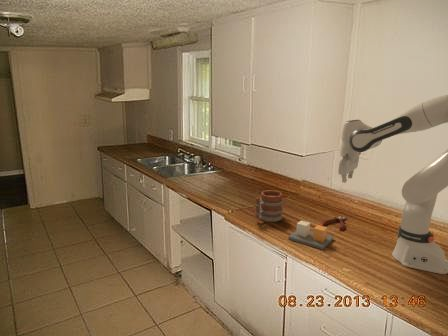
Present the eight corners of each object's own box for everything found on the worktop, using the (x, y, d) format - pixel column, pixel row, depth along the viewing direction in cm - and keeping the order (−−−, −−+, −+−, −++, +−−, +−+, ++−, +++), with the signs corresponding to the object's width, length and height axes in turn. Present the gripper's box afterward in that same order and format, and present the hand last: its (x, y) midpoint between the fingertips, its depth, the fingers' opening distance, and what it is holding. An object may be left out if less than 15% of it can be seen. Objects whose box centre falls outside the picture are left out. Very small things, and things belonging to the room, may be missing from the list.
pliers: (353, 220, 195) (353, 216, 194) (341, 232, 179) (342, 227, 178) (334, 215, 201) (334, 211, 201) (321, 226, 186) (321, 222, 185)
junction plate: (333, 239, 169) (334, 225, 168) (322, 249, 159) (324, 235, 157) (300, 229, 180) (301, 216, 178) (288, 239, 169) (289, 225, 167)
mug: (287, 218, 195) (289, 193, 192) (263, 226, 184) (265, 200, 180) (270, 211, 206) (271, 187, 202) (247, 218, 195) (247, 193, 191)
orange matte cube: (326, 238, 167) (327, 227, 165) (322, 242, 163) (323, 230, 161) (316, 235, 170) (317, 224, 168) (312, 239, 166) (313, 228, 164)
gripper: (349, 157, 154) (347, 185, 157) (361, 150, 170) (359, 176, 173) (336, 155, 158) (333, 183, 161) (349, 149, 174) (346, 175, 177)
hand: (347, 180), depth 167 cm, fingers open, 8 cm apart
